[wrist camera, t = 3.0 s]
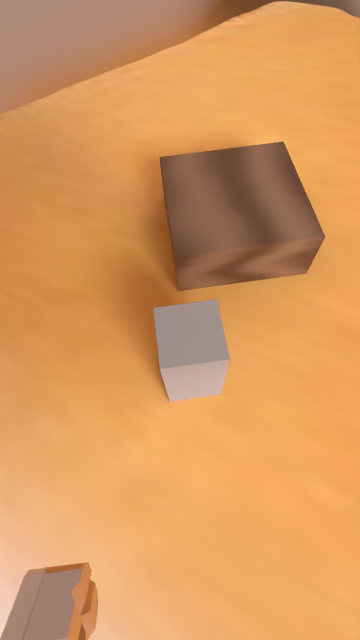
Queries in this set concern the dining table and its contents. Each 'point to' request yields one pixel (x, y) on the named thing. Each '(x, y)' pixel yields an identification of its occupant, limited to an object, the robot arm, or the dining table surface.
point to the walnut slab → (238, 216)
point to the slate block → (191, 349)
